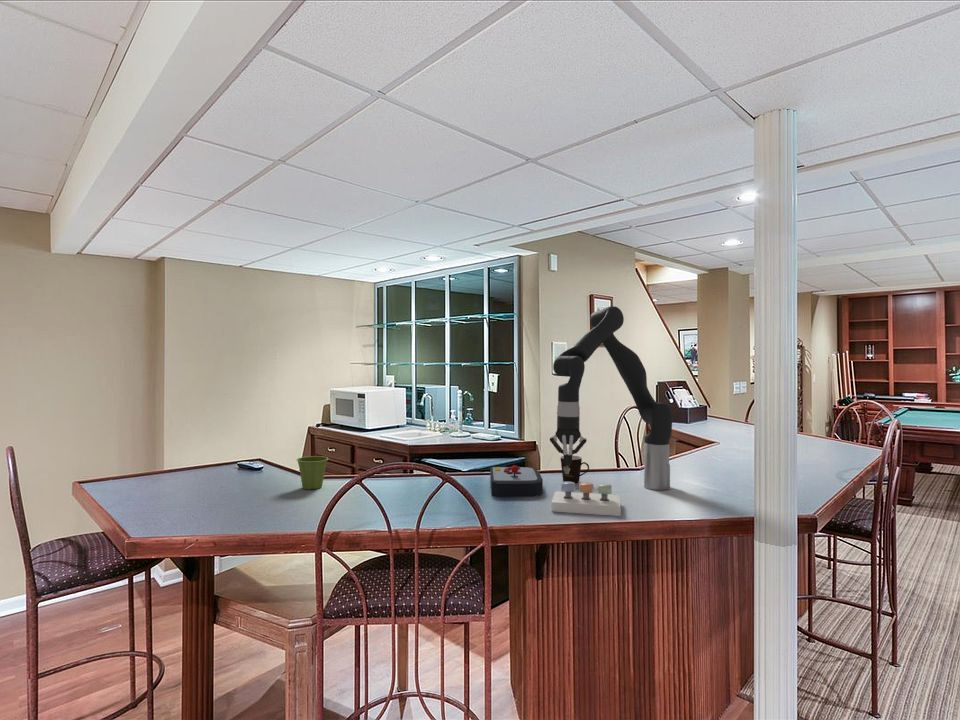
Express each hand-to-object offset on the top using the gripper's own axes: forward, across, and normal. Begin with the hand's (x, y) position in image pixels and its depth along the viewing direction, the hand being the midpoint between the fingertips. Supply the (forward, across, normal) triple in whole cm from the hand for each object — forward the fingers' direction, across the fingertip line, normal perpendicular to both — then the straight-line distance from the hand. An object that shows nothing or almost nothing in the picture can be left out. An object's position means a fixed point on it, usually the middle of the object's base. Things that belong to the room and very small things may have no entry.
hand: (567, 465), depth 179 cm
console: (+14, -6, 0) cm, 15 cm away
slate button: (+12, 0, 0) cm, 12 cm away
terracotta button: (+12, -6, 0) cm, 13 cm away
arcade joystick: (+15, +21, -22) cm, 34 cm away
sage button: (+11, -12, 0) cm, 17 cm away
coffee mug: (+14, 0, -34) cm, 37 cm away
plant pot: (+15, +98, -3) cm, 99 cm away
